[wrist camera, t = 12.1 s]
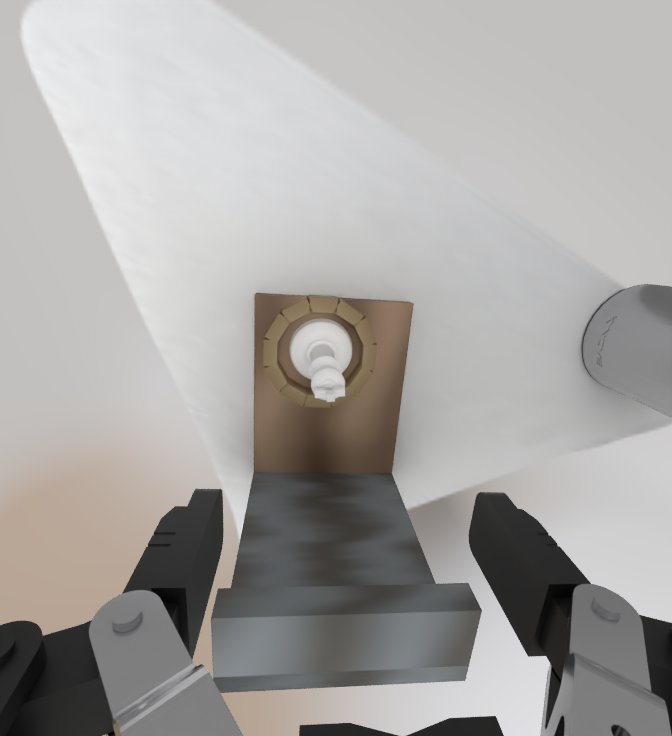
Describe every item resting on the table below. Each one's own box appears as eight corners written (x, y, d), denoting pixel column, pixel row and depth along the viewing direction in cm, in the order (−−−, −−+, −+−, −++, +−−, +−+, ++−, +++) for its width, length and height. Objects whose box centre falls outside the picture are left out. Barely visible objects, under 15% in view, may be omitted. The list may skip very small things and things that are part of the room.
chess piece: (286, 319, 29) (280, 356, 20) (351, 316, 30) (376, 350, 20) (291, 381, 31) (288, 442, 21) (352, 377, 31) (376, 435, 22)
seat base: (410, 299, 31) (540, 365, 14) (387, 476, 36) (465, 680, 19) (256, 290, 30) (201, 351, 13) (255, 475, 34) (213, 692, 18)
